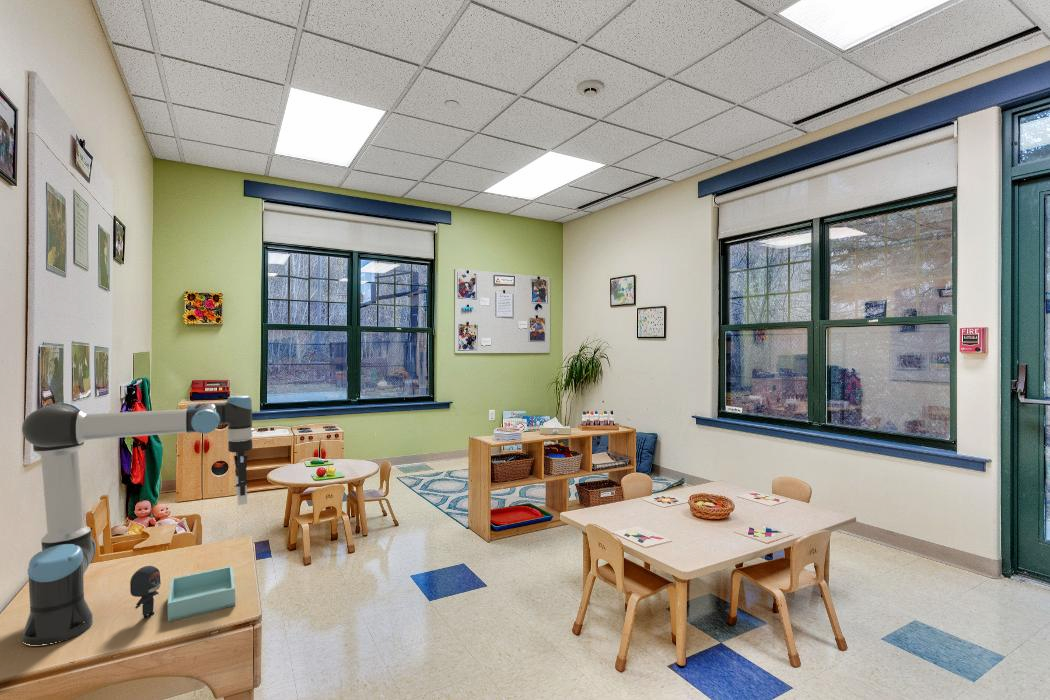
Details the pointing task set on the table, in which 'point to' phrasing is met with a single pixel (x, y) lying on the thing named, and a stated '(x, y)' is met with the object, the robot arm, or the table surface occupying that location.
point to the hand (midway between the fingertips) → (241, 498)
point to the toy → (145, 588)
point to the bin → (201, 593)
